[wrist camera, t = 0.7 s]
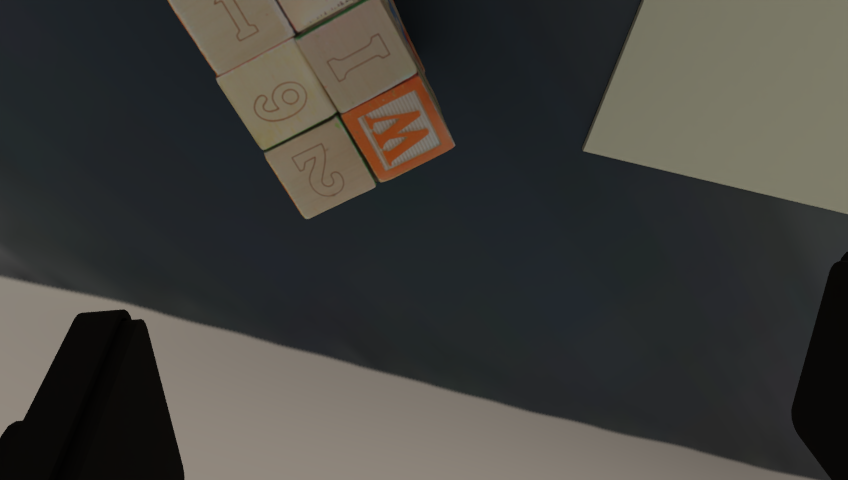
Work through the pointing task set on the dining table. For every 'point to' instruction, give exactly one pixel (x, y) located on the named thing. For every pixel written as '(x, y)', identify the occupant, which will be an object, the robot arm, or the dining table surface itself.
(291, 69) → the stack of blocks
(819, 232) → the dining table surface
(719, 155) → the mat
